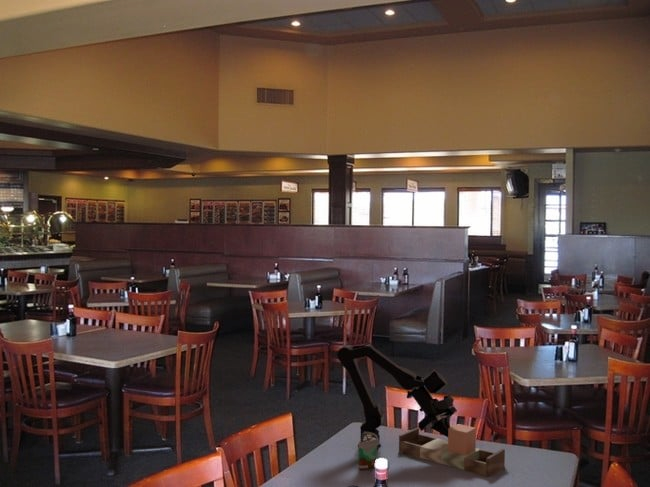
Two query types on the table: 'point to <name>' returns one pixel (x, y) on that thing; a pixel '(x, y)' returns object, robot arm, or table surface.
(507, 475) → the table surface
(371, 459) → the food container
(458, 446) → the terracotta block
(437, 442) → the track
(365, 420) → the robot arm
